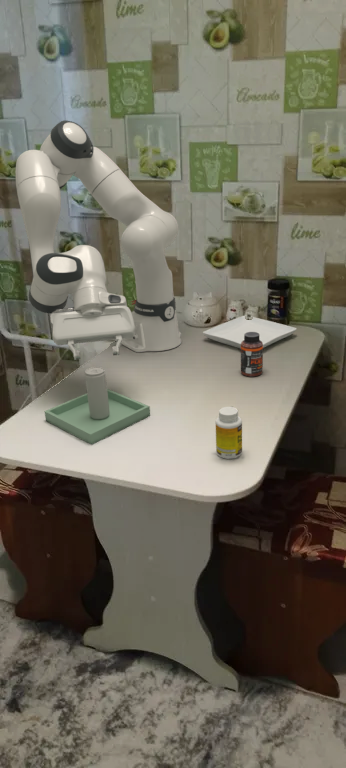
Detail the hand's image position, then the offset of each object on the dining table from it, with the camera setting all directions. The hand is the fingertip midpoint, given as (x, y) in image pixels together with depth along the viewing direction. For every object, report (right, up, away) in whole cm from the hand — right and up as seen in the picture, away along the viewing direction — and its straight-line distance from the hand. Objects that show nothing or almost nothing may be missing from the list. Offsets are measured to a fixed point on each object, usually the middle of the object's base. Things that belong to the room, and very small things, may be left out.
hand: (96, 356), depth 157 cm
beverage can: (+1, -15, 0) cm, 15 cm away
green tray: (0, -15, 0) cm, 15 cm away
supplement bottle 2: (+40, -4, +20) cm, 45 cm away
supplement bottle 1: (+31, -22, -18) cm, 42 cm away
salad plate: (+42, +7, +43) cm, 61 cm away
